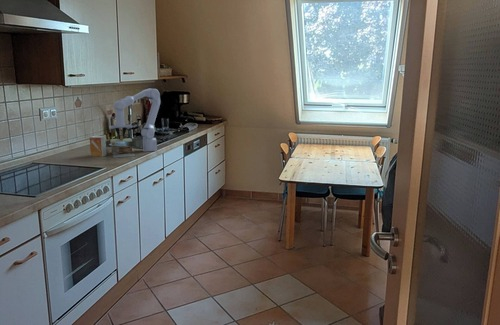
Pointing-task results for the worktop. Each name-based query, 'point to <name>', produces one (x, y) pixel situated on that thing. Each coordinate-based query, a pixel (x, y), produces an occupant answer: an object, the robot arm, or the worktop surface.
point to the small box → (98, 146)
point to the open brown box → (121, 150)
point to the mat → (123, 155)
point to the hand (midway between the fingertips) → (121, 138)
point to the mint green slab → (121, 139)
